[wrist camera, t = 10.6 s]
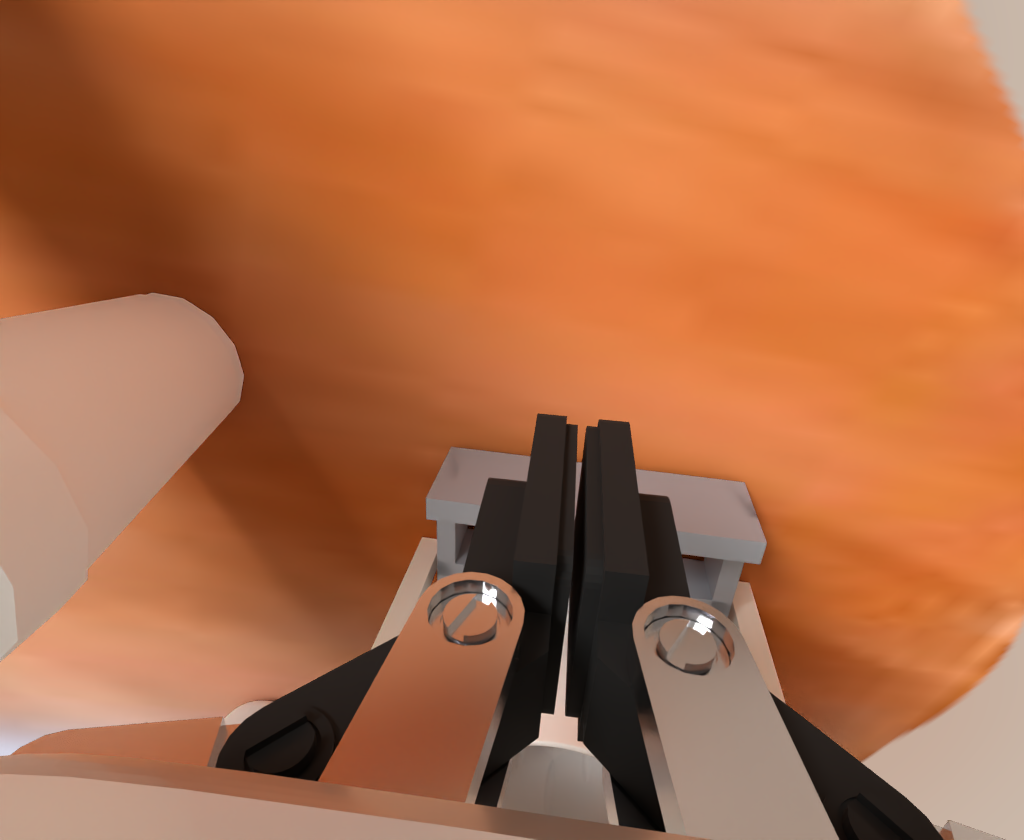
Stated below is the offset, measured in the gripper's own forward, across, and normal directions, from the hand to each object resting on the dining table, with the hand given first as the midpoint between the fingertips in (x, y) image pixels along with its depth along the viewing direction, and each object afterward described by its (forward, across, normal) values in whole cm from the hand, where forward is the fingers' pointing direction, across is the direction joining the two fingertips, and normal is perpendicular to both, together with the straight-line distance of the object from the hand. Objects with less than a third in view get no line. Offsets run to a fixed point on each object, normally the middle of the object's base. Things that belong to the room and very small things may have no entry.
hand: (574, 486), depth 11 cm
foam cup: (+13, +18, +5) cm, 23 cm away
